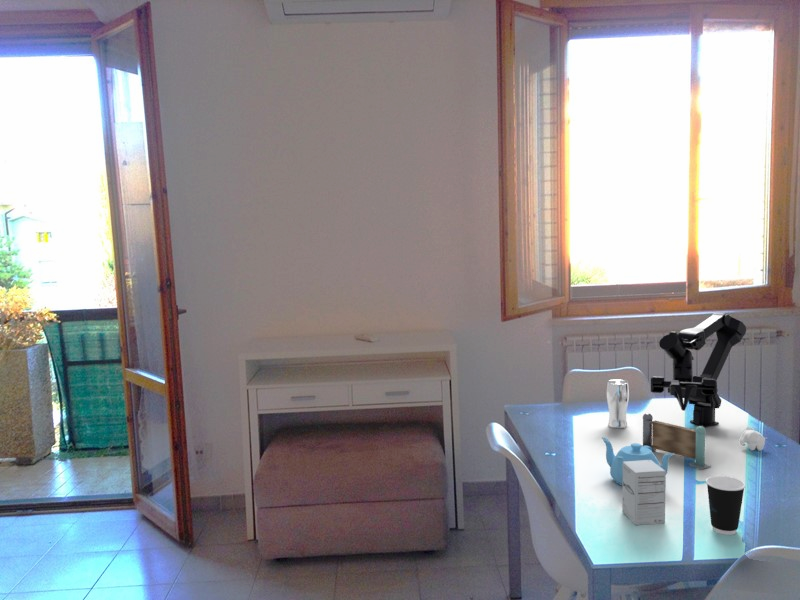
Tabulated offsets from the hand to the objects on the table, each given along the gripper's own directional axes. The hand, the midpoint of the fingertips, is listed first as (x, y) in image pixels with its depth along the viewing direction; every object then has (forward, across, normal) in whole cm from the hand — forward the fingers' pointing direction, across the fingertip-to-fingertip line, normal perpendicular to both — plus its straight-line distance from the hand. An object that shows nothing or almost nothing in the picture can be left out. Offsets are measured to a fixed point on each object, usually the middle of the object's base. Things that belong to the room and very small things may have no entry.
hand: (683, 410), depth 206 cm
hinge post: (+12, +10, -3) cm, 16 cm away
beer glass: (-2, +20, -18) cm, 27 cm away
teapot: (+32, +13, +17) cm, 39 cm away
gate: (+16, +2, +2) cm, 16 cm away
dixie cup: (+48, -6, +34) cm, 59 cm away
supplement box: (+47, +11, +32) cm, 58 cm away
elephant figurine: (+7, -19, -9) cm, 22 cm away
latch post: (+20, -4, +5) cm, 21 cm away
